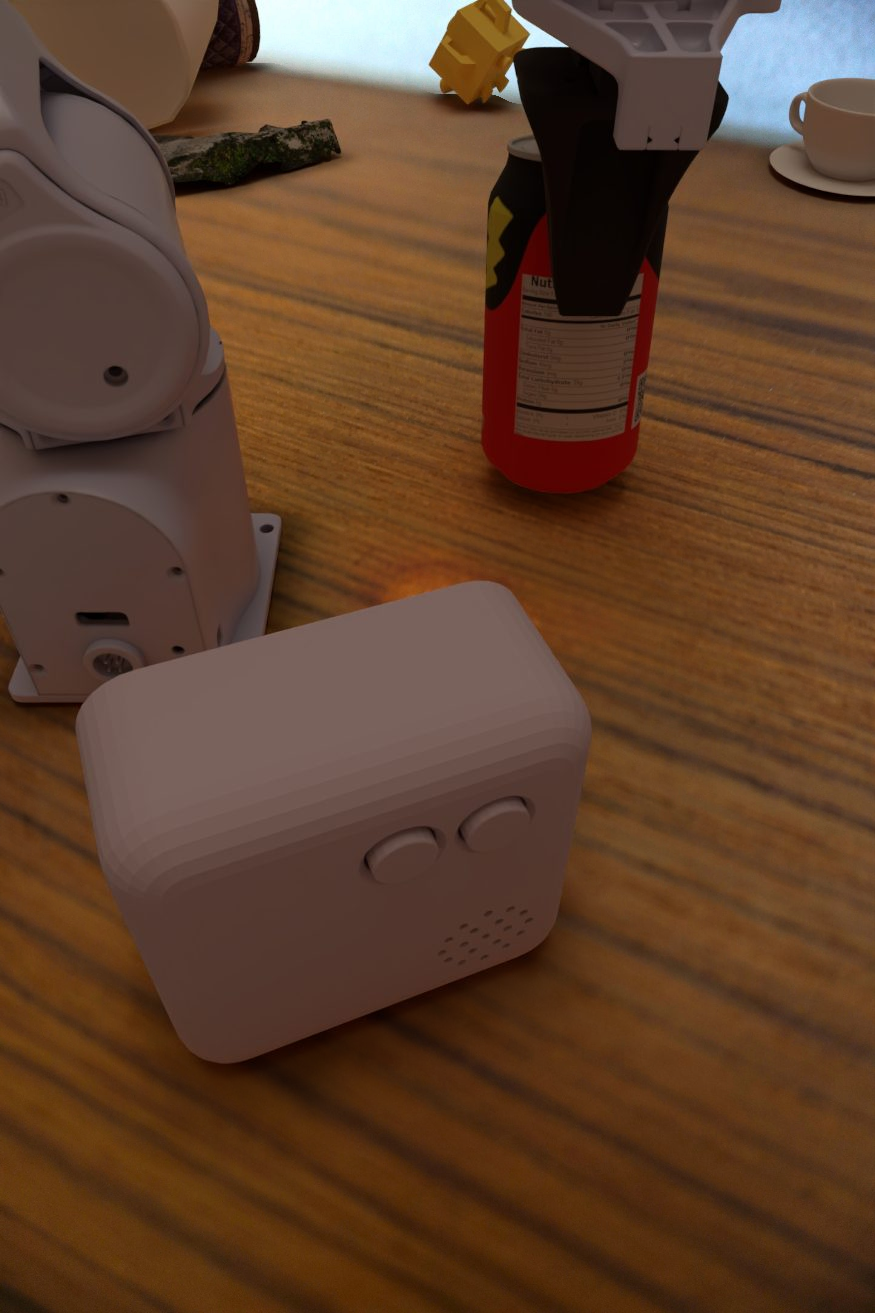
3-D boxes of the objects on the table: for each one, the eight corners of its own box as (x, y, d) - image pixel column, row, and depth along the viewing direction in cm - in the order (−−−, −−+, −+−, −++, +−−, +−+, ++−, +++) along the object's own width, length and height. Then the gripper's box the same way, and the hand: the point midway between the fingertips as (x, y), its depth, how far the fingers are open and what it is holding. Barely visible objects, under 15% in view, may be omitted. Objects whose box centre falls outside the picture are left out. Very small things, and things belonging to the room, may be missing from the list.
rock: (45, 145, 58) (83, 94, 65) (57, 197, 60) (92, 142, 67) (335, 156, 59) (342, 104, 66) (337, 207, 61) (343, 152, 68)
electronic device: (197, 1104, 23) (91, 889, 16) (160, 937, 26) (57, 690, 19) (572, 959, 26) (628, 716, 18) (499, 821, 29) (523, 566, 21)
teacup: (952, 177, 64) (982, 98, 60) (871, 217, 59) (899, 134, 56) (821, 136, 69) (841, 61, 66) (737, 170, 64) (754, 92, 61)
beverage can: (645, 448, 42) (688, 134, 34) (617, 514, 37) (661, 165, 30) (504, 428, 43) (518, 125, 36) (460, 489, 38) (465, 153, 31)
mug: (133, 75, 72) (277, 58, 77) (101, -39, 69) (253, -49, 74) (96, 102, 80) (229, 85, 85) (67, 2, 77) (206, -9, 82)
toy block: (499, 109, 78) (449, 58, 77) (555, 19, 71) (501, -37, 71) (451, 140, 73) (397, 86, 72) (507, 47, 67) (448, -13, 66)
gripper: (946, -226, 17) (759, 429, 27) (757, -274, 27) (670, 217, 37) (551, -229, 17) (507, 428, 27) (507, -276, 27) (487, 216, 37)
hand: (587, 306), depth 32 cm, fingers closed
